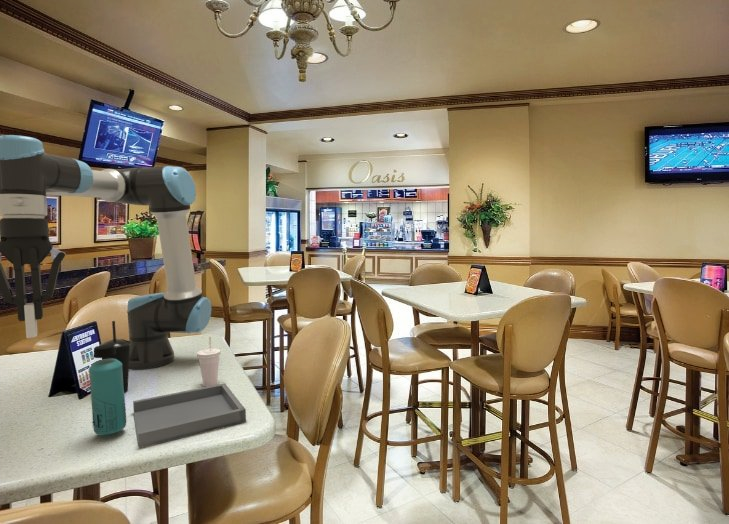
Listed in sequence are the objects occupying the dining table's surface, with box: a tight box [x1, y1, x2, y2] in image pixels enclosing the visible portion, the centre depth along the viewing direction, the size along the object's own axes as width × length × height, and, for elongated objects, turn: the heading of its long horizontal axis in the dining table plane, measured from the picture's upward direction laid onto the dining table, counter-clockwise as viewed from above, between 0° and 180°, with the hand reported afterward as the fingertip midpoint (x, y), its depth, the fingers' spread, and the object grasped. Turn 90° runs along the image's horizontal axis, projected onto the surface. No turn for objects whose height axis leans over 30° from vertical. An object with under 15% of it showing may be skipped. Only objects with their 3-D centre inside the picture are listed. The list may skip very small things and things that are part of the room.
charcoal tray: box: [132, 382, 247, 449], centre depth 102 cm, size 20×22×3 cm
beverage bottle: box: [88, 344, 128, 436], centre depth 93 cm, size 6×7×20 cm
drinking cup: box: [98, 320, 131, 394], centre depth 118 cm, size 8×8×20 cm
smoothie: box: [196, 336, 221, 387], centre depth 123 cm, size 6×6×14 cm
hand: (32, 336), depth 85 cm, fingers closed
